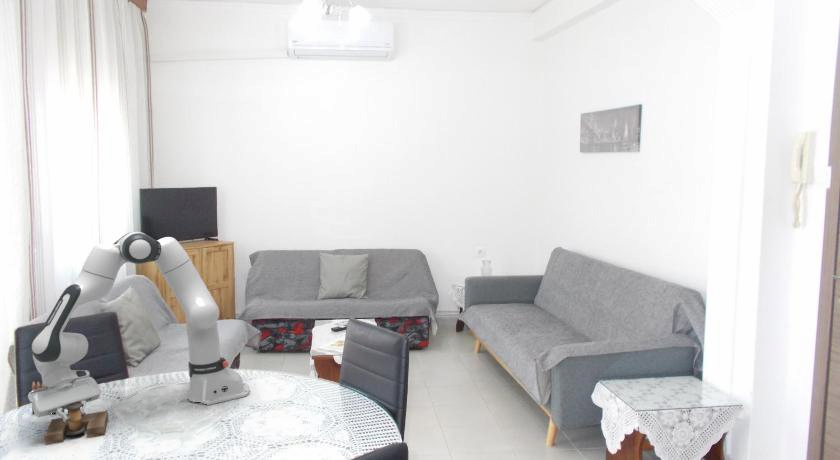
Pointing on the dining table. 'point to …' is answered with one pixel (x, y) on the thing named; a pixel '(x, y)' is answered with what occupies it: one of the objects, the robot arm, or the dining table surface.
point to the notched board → (91, 422)
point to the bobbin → (75, 419)
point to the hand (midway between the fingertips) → (75, 417)
